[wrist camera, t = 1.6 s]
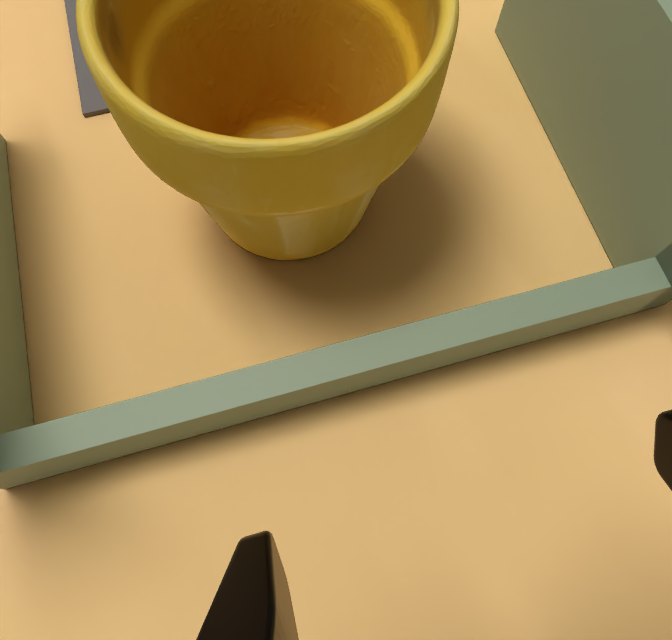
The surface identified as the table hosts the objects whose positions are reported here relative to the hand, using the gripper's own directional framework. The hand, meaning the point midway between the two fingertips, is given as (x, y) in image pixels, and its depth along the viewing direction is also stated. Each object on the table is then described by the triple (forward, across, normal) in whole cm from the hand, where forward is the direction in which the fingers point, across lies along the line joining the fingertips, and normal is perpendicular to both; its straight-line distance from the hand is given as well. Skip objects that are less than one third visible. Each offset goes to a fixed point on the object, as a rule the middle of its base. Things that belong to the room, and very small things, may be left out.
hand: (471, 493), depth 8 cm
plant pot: (+19, 0, -1) cm, 19 cm away
